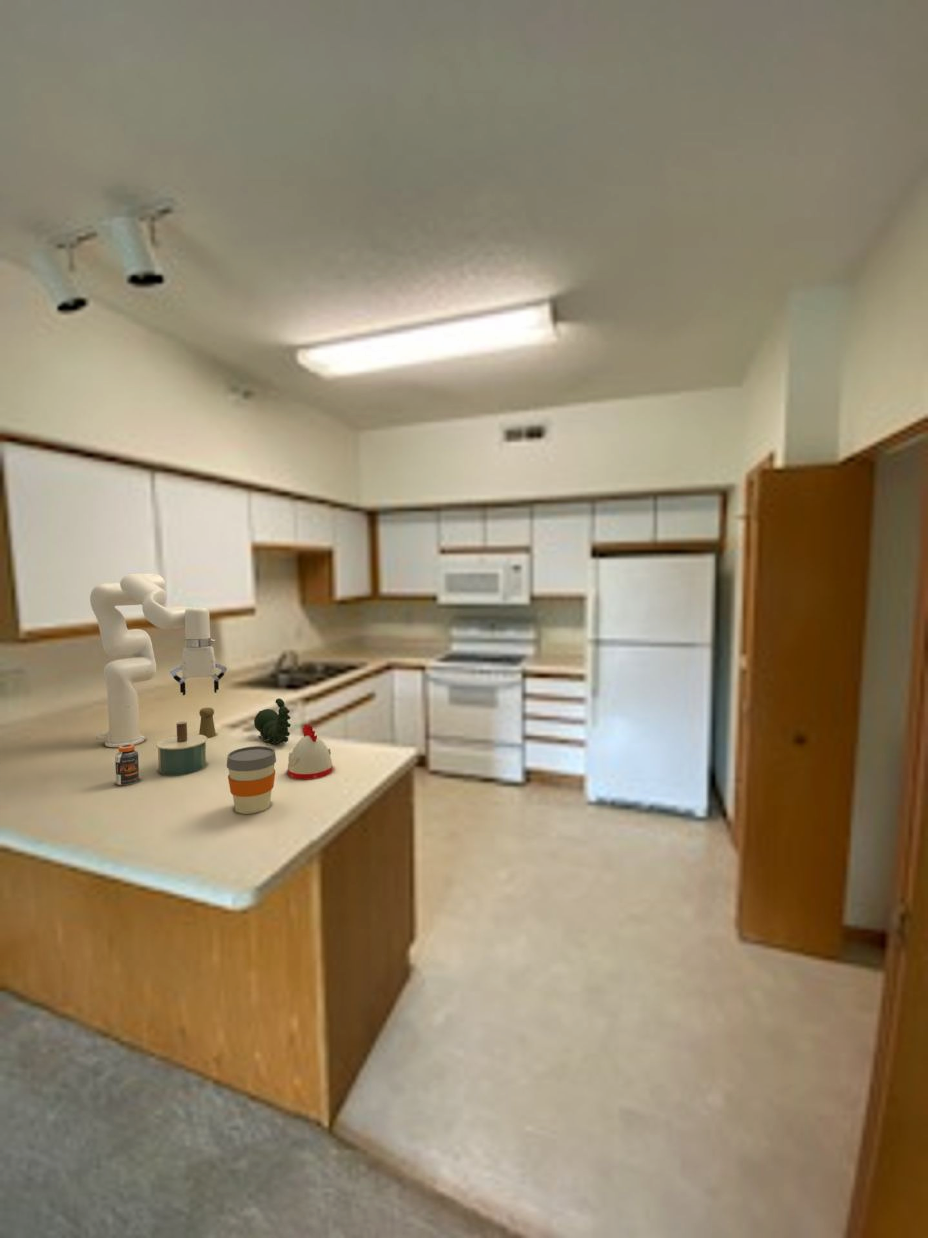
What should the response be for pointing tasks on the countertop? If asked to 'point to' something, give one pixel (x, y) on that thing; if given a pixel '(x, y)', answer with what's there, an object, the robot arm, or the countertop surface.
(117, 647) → the robot arm
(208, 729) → the cork
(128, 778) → the pill bottle
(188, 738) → the lid
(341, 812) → the countertop surface
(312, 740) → the kitchen timer
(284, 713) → the toy figurine
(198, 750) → the tin
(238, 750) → the reusable coffee cup
